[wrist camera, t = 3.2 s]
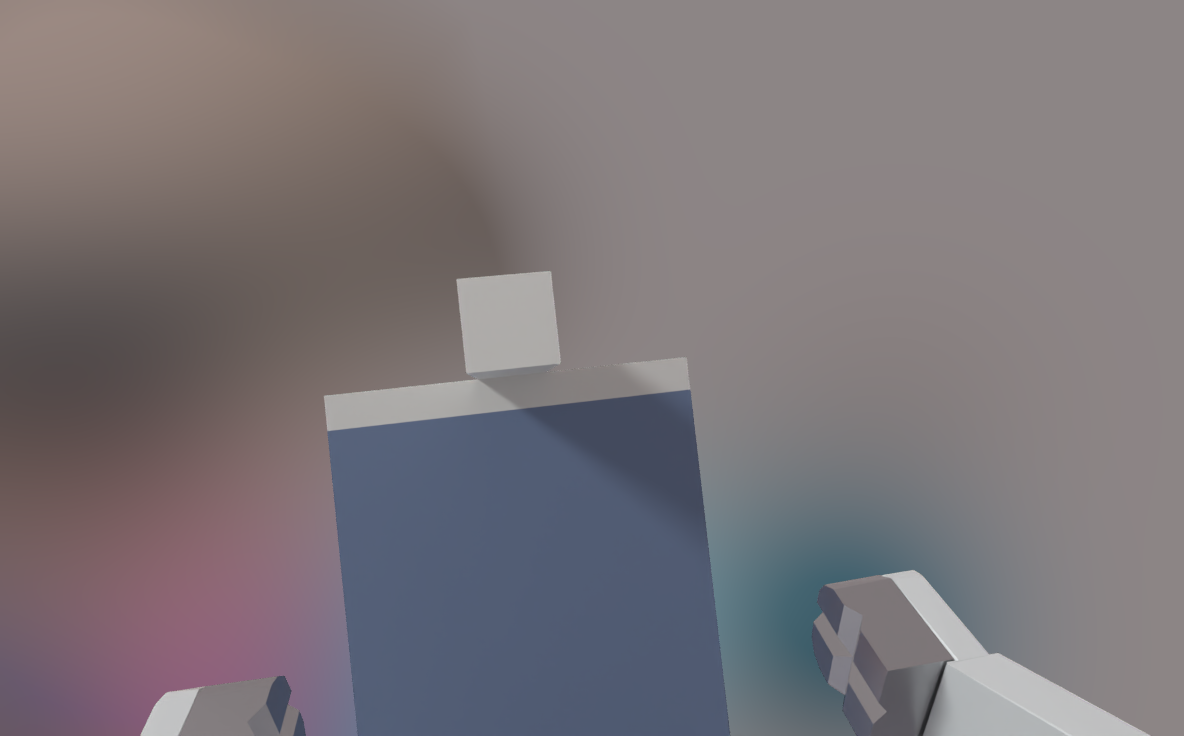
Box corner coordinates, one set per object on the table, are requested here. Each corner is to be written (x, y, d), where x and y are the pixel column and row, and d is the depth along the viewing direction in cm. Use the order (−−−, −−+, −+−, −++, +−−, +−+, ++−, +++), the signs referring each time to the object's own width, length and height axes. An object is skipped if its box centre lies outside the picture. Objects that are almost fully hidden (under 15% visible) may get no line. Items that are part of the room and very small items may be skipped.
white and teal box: (570, 362, 20) (560, 270, 20) (456, 374, 20) (446, 279, 20) (539, 378, 40) (534, 331, 40) (482, 384, 40) (476, 337, 40)
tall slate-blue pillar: (753, 932, 28) (686, 357, 29) (386, 1019, 26) (324, 395, 27) (682, 778, 40) (636, 367, 41) (422, 830, 38) (378, 395, 38)
